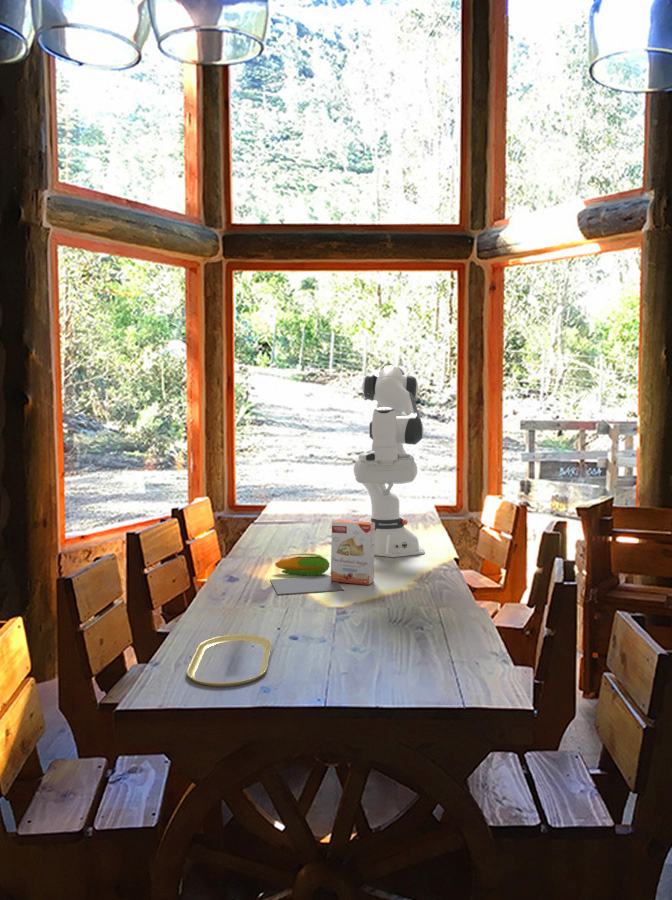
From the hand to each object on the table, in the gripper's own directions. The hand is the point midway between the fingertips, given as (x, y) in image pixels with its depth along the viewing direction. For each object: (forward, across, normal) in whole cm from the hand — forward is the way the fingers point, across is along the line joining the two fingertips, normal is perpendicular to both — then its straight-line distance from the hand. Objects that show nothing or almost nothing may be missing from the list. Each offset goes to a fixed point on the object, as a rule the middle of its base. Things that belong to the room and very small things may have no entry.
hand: (385, 495), depth 273 cm
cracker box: (+30, +12, 0) cm, 32 cm away
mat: (+30, +28, 0) cm, 41 cm away
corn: (+30, +27, -17) cm, 44 cm away
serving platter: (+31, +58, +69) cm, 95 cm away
